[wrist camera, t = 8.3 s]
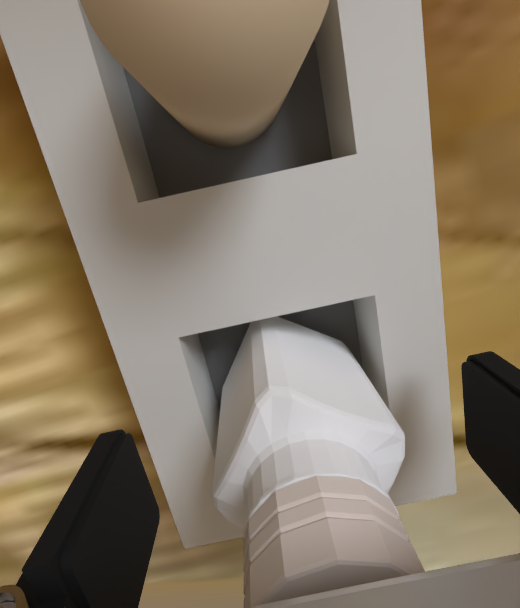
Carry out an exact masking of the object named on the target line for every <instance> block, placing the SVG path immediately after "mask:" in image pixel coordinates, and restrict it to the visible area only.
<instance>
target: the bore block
mask: <svg viewBox="0 0 520 608" xmlns="http://www.w3.org/2000/svg"><path fill="white" fill-rule="evenodd" d="M0 35H1V38H2V41H3V44H4V47H5V49H6V52H7V55H8V58H9V61H10V63H11V66H12V69H13V72H14V74H15V77H16V80H17V83H18V86H19V88H20V91H21V94H22V97H23V100H24V102H25V105H26V108H27V111H28V114H29V116H30V119H31V122H32V125H33V128H34V130H35V133H36V136H37V139H38V141H39V144H40V147H41V150H42V153H43V155H44V158H45V161H46V164H47V167H48V169H49V172H50V175H51V178H52V181H53V183H54V186H55V189H56V192H57V195H58V197H59V200H60V203H61V206H62V209H63V211H64V214H65V217H66V220H67V222H68V225H69V228H70V231H71V234H72V236H73V239H74V242H75V245H76V248H77V250H78V253H79V256H80V259H81V262H82V264H83V267H84V270H85V273H86V276H87V278H88V281H89V284H90V287H91V289H92V292H93V295H94V298H95V301H96V303H97V306H98V309H99V312H100V315H101V317H102V320H103V323H104V326H105V329H106V331H107V334H108V337H109V340H110V343H111V345H112V348H113V351H114V354H115V356H116V359H117V362H118V365H119V368H120V370H121V373H122V376H123V379H124V382H125V384H126V387H127V390H128V393H129V396H130V398H131V401H132V404H133V407H134V410H135V412H136V415H137V418H138V421H139V423H140V426H141V429H142V432H143V435H144V437H145V440H146V443H147V446H148V449H149V451H150V454H151V457H152V460H153V463H154V465H155V468H156V471H157V474H158V477H159V479H160V482H161V485H162V488H163V491H164V493H165V496H166V499H167V502H168V504H169V507H170V510H171V513H172V516H173V518H174V521H175V524H176V527H177V530H178V532H179V535H180V538H181V541H182V544H183V546H184V549H188V548H193V547H198V546H203V545H207V544H212V543H217V542H222V541H227V540H232V539H237V538H242V537H244V529H242V528H240V527H238V526H236V525H234V524H232V523H230V522H228V521H226V520H225V518H224V517H223V516H222V515H221V514H220V513H219V512H218V511H217V510H216V509H215V507H214V505H213V497H212V488H213V478H214V468H215V458H216V448H217V438H218V427H219V417H220V407H221V397H222V387H223V385H224V383H225V380H226V378H227V376H228V373H229V371H230V369H231V366H232V364H233V362H234V360H235V357H236V355H237V353H238V350H239V348H240V346H241V343H242V341H243V339H244V336H245V334H246V332H247V330H248V327H249V325H250V323H251V322H253V321H257V320H262V319H267V318H271V317H276V316H278V317H280V318H283V319H286V320H288V321H291V322H293V323H296V324H299V325H301V326H304V327H306V328H309V329H312V330H314V331H317V332H319V333H322V334H325V335H327V336H330V337H332V338H335V339H337V340H340V341H342V342H343V343H344V344H345V345H346V346H347V347H348V348H349V350H350V351H351V353H352V354H353V356H354V357H355V359H356V360H357V362H358V363H359V365H360V366H361V368H362V369H363V371H364V372H365V374H366V376H367V377H368V379H369V380H370V382H371V383H372V385H373V386H374V388H375V389H376V391H377V392H378V394H379V395H380V397H381V399H382V400H383V402H384V403H385V405H386V406H387V408H388V409H389V411H390V412H391V414H392V415H393V417H394V418H395V420H396V421H397V423H398V425H399V426H400V428H401V429H402V431H403V432H404V435H405V457H404V460H403V462H402V464H401V467H400V469H399V472H398V474H397V476H396V479H395V481H394V483H393V485H392V487H391V489H390V491H389V492H388V495H389V497H390V498H391V500H392V502H393V503H394V505H395V506H398V505H403V504H408V503H413V502H418V501H422V500H427V499H432V498H437V497H442V496H447V495H452V494H457V489H456V475H455V461H454V448H453V434H452V420H451V406H450V393H449V379H448V365H447V351H446V337H445V324H444V310H443V296H442V282H441V269H440V255H439V241H438V227H437V213H436V200H435V186H434V172H433V158H432V145H431V131H430V117H429V103H428V89H427V76H426V62H425V48H424V34H423V21H422V7H421V0H0Z"/></svg>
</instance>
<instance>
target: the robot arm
mask: <svg viewBox="0 0 520 608" xmlns="http://www.w3.org/2000/svg"><path fill="white" fill-rule="evenodd" d="M462 383H463V399H464V416H465V432H466V445H467V449H468V451H469V453H470V455H471V457H472V458H473V459H474V461H475V462H476V463H477V464H478V465H479V466H480V468H481V469H482V470H483V471H484V472H485V474H486V475H487V476H488V477H489V478H490V479H491V481H492V482H493V483H494V484H495V485H496V486H497V488H498V489H499V490H500V491H501V492H502V494H503V495H504V496H505V497H506V498H507V499H508V501H509V502H510V503H511V504H512V505H513V507H514V508H515V509H516V510H517V511H518V512H519V514H520V370H519V369H518V368H516V367H515V366H513V365H512V364H510V363H509V362H507V361H506V360H504V359H503V358H501V357H500V356H498V355H497V354H495V353H494V352H491V351H490V352H484V353H480V354H475V355H470V356H468V358H467V362H464V363H462ZM159 518H160V515H159V508H158V505H157V502H156V499H155V497H154V494H153V491H152V489H151V486H150V483H149V480H148V478H147V475H146V472H145V470H144V467H143V464H142V461H141V459H140V456H139V453H138V451H137V448H136V445H135V443H134V440H133V437H132V435H131V434H130V433H127V434H125V432H124V431H123V430H116V431H111V432H107V433H102V434H100V435H99V436H98V438H97V440H96V442H95V443H94V445H93V447H92V449H91V450H90V452H89V454H88V455H87V457H86V459H85V461H84V462H83V464H82V466H81V468H80V469H79V471H78V473H77V475H76V476H75V478H74V480H73V482H72V483H71V485H70V487H69V488H68V490H67V492H66V494H65V495H64V497H63V499H62V501H61V502H60V504H59V506H58V508H57V509H56V511H55V513H54V515H53V516H52V518H51V520H50V521H49V523H48V525H47V527H46V528H45V530H44V532H43V534H42V535H41V537H40V539H39V541H38V542H37V544H36V546H35V548H34V549H33V551H32V553H31V554H30V556H29V558H28V560H27V561H26V563H25V565H24V567H23V568H22V572H23V573H22V575H21V577H20V578H19V580H18V582H17V584H16V586H15V585H6V586H1V587H0V608H138V605H139V601H140V597H141V593H142V589H143V585H144V581H145V577H146V573H147V569H148V565H149V561H150V557H151V553H152V549H153V545H154V541H155V537H156V533H157V529H158V525H159ZM248 608H520V553H519V554H514V555H509V556H504V557H499V558H494V559H488V560H483V561H478V562H473V563H468V564H463V565H458V566H452V567H447V568H442V569H437V570H432V571H427V572H421V573H416V574H411V575H406V576H401V577H396V578H391V579H386V580H381V581H376V582H371V583H366V584H361V585H356V586H351V587H346V588H341V589H336V590H331V591H326V592H321V593H316V594H311V595H306V596H301V597H297V598H292V599H287V600H282V601H277V602H272V603H267V604H262V605H257V606H253V607H248Z"/></svg>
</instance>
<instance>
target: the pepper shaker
mask: <svg viewBox="0 0 520 608" xmlns="http://www.w3.org/2000/svg"><path fill="white" fill-rule="evenodd" d="M404 457H405V435H404V432H403V431H402V429H401V428H400V426H399V425H398V423H397V421H396V420H395V418H394V417H393V415H392V414H391V412H390V411H389V409H388V408H387V406H386V405H385V403H384V402H383V400H382V399H381V397H380V395H379V394H378V392H377V391H376V389H375V388H374V386H373V385H372V383H371V382H370V380H369V379H368V377H367V376H366V374H365V372H364V371H363V369H362V368H361V366H360V365H359V363H358V362H357V360H356V359H355V357H354V356H353V354H352V353H351V351H350V350H349V348H348V347H347V346H346V345H345V344H344V343H343V342H342V341H340V340H337V339H335V338H332V337H330V336H327V335H325V334H322V333H319V332H317V331H314V330H312V329H309V328H306V327H304V326H301V325H299V324H296V323H293V322H291V321H288V320H286V319H283V318H280V317H278V316H276V317H271V318H267V319H262V320H257V321H253V322H251V323H250V325H249V327H248V330H247V332H246V334H245V336H244V339H243V341H242V343H241V346H240V348H239V350H238V353H237V355H236V357H235V360H234V362H233V364H232V366H231V369H230V371H229V373H228V376H227V378H226V380H225V383H224V385H223V387H222V397H221V407H220V417H219V427H218V438H217V448H216V458H215V468H214V478H213V488H212V497H213V505H214V507H215V509H216V510H217V511H218V512H219V513H220V514H221V515H222V516H223V517H224V518H225V520H226V521H228V522H230V523H232V524H234V525H236V526H238V527H240V528H242V529H244V572H245V573H244V595H245V598H244V608H248V607H253V606H257V605H262V604H267V603H272V602H277V601H282V600H287V599H292V598H297V597H301V596H306V595H311V594H316V593H321V592H326V591H331V590H336V589H341V588H346V587H351V586H356V585H361V584H366V583H371V582H376V581H381V580H386V579H391V578H396V577H401V576H406V575H411V574H416V573H421V572H425V571H424V569H423V567H422V565H421V562H420V560H419V558H418V556H417V554H416V552H415V550H414V548H413V546H412V544H411V542H410V540H409V537H408V535H407V533H406V531H405V529H404V527H403V524H402V522H401V521H400V518H399V513H398V510H397V508H396V507H395V505H394V503H393V502H392V500H391V498H390V497H389V495H388V492H389V491H390V489H391V487H392V485H393V483H394V481H395V479H396V476H397V474H398V472H399V469H400V467H401V464H402V462H403V460H404Z"/></svg>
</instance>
